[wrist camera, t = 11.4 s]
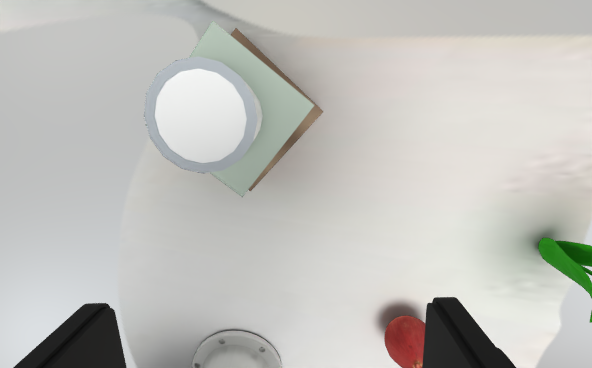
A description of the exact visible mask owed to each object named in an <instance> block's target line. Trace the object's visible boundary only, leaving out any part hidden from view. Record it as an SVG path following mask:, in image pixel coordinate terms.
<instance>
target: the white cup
mask: <svg viewBox="0 0 592 368" xmlns="http://www.w3.org/2000/svg"><path fill="white" fill-rule="evenodd" d="M144 117H145V121H146V124H147V128H148V132H149V135H150V138H151V140H152V141H153V142H154V144H155V145H156V147H157V148H158V149H159V151H160V152H161V153H162V155H163V156H164V157H165V158H167V159H168V160H170V161H171V162H173V163H174V164H176V165H177V166H179V167H180V168H182V169H186V170H190V171H194V172H198V173H209V172H216V171H222V170H225V169H226V168H228V167H230V166H231V165H233V164H234V163H236V162H238V161H239V160H241V159H242V157H243V156H244V154H245V153H246V151H247V150H248V148H249V147H250V146H251V144H252V143H253V141H254V139H255V138H256V136H257V134H258V132H259V131H260V128H261V123H262V118H263V115H262V109H261V104H260V101H259V100H258V98H257V96H256V95H255V93H254V92H253V90H252V89H251V88H250V87H249V86H248V84H247V83H246V82H245V81H244V80H243V79H242V77H241V76H239V75H238V74H237V73H235V72H234V71H233V70H231V69H230V68H229V67H227V66H226V65H224V64H223V63H222V62H219V61H215V60H211V59H207V58H203V57H199V56H198V57H192V58H187V59H181V60H176V61H174V62H173V63H172V64H170V65H169V66H167V67H166V68H165V69H163V70H162V71H161V72H159V73H158V74H157V75H156V77H155V79H154V81H153V83H152V85H151V86H150V88H149V90H148V91H147V93H146V103H145V112H144Z"/></svg>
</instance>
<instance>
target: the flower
mask: <svg viewBox="0 0 592 368" xmlns="http://www.w3.org/2000/svg"><path fill="white" fill-rule="evenodd" d="M538 249H539V252H540V254H541V256H542V258H543V259H544V260H545V261H546V262H547V263H549V264H550V265H552V266H553V267H555V268H556V269H558V270H559V271H561V272H562V273H563V274H565V275H566V276H568V277H569V278H571V279H572V280H573V281H575V282H576V283H578V284H579V285H581V286H582V287H583V288H584V289H585V290H586V291H587V292H588V293H589V294H590V296H591V298H592V282H591V280H590V278H589V276H588V275H587V274H586V273H588V274H590V275H592V271H590V270H589V269H587V268H585V267H583V266H591V267H592V246H590V245H585V244H580V243H574V242H567V241H554V240H553V239H550V238H542V239H541V241H540V242H539V245H538ZM581 265H583V266H581ZM585 272H586V273H585ZM590 322H592V312H591V318H590Z"/></svg>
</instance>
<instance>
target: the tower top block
mask: <svg viewBox="0 0 592 368" xmlns="http://www.w3.org/2000/svg"><path fill="white" fill-rule="evenodd" d="M198 56H199V57H203V58H207V59H211V60H215V61H219V62H222V63H223V64H224V65H226V66H227V67H229V68H230V69H231V70H233V71H234V72H235V73H237V74H238V75H239V76H241V77H242V79H243V80H244V81H245V82H246V83H247V84H248V86H249V87H250V88H251V89H252V90H253V92H254V93H255V95H256V96H257V98H258V100H259V101H260V104H261V109H262V115H263V118H262V123H261V128H260V131H259V132H258V134H257V136H256V138H255V139H254V141H253V143H252V144H251V146H250V147H249V148H248V150H247V151H246V153H245V154H244V156H243V157H242V159H241V160H239V161H238V162H236V163H234V164H233V165H231V166H230V167H228V168H226V169H225V170H222V171H216V172H209V173H210V174H212V175H213V176H215V177H216V178H217V179H219V180H220V181H221V182H223V183H224V184H225V185H227V186H228V187H229V188H231V189H232V190H233V191H235V192H236V193H237V194H239V195H240V196H241V197H243V196H244V194H245V193H246V192H247V191H248V189H249V188H250V187H251V186H252V184H253V183H254V182H255V180H256V179H257V178H258V177H259V175H260V174H261V173H262V172H263V170H264V169H265V168H266V166H267V165H268V164H269V163H270V161H271V160H272V159H273V158H274V156H275V155H276V154H277V152H278V151H279V150H280V149H281V147H282V146H283V145H284V144H285V142H286V141H287V140H288V138H289V137H290V136H291V135H292V133H293V132H294V131H295V130H296V128H297V127H298V126H299V124H300V123H301V122H302V121H303V119H304V118H305V117H306V116H307V114H308V113H309V112H310V110H311V109H312V108H313V107H314V104H313V103H311V102H310V101H309V100H308V99H307V98H305V97H304V96H303V95H302V94H301V93H299V92H298V91H297V90H296V89H295V88H293V87H292V86H291V85H290V84H289V83H287V82H286V81H285V80H284V79H283V78H281V77H280V76H279V75H278V74H276V73H275V72H274V71H273V70H272V69H270V68H269V67H268V66H267V65H266V64H264V63H263V62H262V61H261V60H260V59H258V58H257V57H256V56H255V55H254V54H252V53H251V52H250V51H249V50H248V49H246V48H245V47H244V46H243V45H242V44H240V43H239V42H238V41H237V40H236V39H234V38H233V37H232V36H231V35H229V34H228V33H227V32H226V31H225V30H223V29H222V28H221V27H220V26H219V25H217V24H216V23H215V22H214V21H212V23H211V24H210V26H209V27H208V29H207V30H206V32H205V34H204V35H203V37H202V38H201V40H200V41H199V43H198V44H197V46H196V47H195V49H194V51H193V52H192V54H191V55H190V57H189V58H192V57H198ZM146 126H147V124H146Z"/></svg>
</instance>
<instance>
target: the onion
mask: <svg viewBox="0 0 592 368" xmlns="http://www.w3.org/2000/svg"><path fill="white" fill-rule="evenodd" d="M424 337H425V323H424V322H422V321H421V320H420V319H417V318H415V317H412V316H400V317H397V318H395V319H393V320H392V321H391V322H390V323H389V324H388V326H387V328H386V331H385V339H384V340H385V346H386V348H387V351H388V353H389V355H390V357H391V358H392V359H393V360H394V361H395V362H396V363H397V364H398V365H400V366H401V367H402V368H422V364H423V350H424Z"/></svg>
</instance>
